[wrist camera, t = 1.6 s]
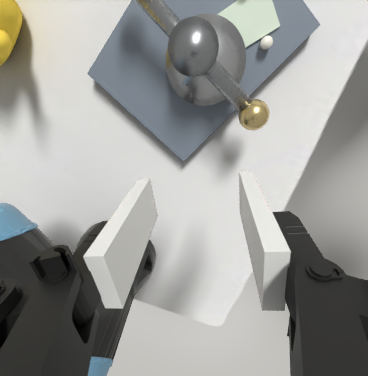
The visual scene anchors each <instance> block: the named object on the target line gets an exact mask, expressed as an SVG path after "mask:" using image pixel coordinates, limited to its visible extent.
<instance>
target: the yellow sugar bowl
mask: <svg viewBox="0 0 368 376" xmlns="http://www.w3.org/2000/svg"><path fill="white" fill-rule="evenodd" d="M21 25H22V12H21V10H20V8H19V6H18V4H17V3H16V1H15V0H0V66H1V65H2V64H3V63H4V62H5V61H6V60H7V59H8V57H9V56H10V54H11V52H12V50H13V48H14V45H15V43H16V41H17V38H18V35H19V32H20V29H21Z"/></svg>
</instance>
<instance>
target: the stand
mask: <svg viewBox="0 0 368 376" xmlns="http://www.w3.org/2000/svg"><path fill="white" fill-rule="evenodd" d="M163 1H164V2H165V3H166V4H167V5H168V6H169V7H170V9H171V10H172V11H173V12H174V13H175V14H176V15H177V16H178V18H179V19H180V20H183V19H185V18H188V17H193V16H196V15H199V14H205V13H211V14H217V15H220V16H222V17H224V18H226V19H228V20H229V21H230V22H232V23H233V24H234V25H235V26H236V28H237V29H238V31H239V32H240V34H241V36H242V38H243V41H244V44H245V48H246V67H245V71H244V74H243V77H242V79H241V81H240V83H239V85H240V87H241V88H242V89H243V90H244V91H245V92H246V93H247V94H248V95H249V96H250V95H251V94H252V93H253V92H254V91H255V90H256V89H257V88H258V87H259V86H260V85H261V84H262V83H263V82H264V81H265V80H266V79H267V78H268V77H269V76H270V75H271V74H272V73H273V72H274V71H275V70H276V69H277V68H278V67H279V66H280V65H281V64H282V63H283V62H284V61H285V60H286V59H287V58H288V57H289V56H290V55H291V54H292V53H293V52H294V51H295V50H296V49H297V48H298V47H299V46H300V45H301V44H302V43H303V42H304V41H305V40H306V39H307V38H308V37H309V36H310V35H311V34H312V33H313V32H314V31H315V30H316V29H317V28H318V27H319V26H320V24H319V22H318V21H317V19H316V18H315V17H314V15H313V14H312V12H311V11H310V10H309V8H308V7H307V6H306V4H305V3H304V1H303V0H163ZM168 41H169V37H168V36H167V35H166V34H165V33H164V32H163V31H162V30H161V29H160V27H159V26H158V25H157V24H156V23H155V22H154V21H153V20H152V19H151V18H150V17H149V16H148V15H147V14H146V12H145V11H144V10H143V9H142V8H141V7H140V6H139V5H138V4H137V3H136V2H135V1H134V0H132V1H131V2H130V4H129V6H128V7H127V9H126V11H125V12H124V14H123V16H122V17H121V19H120V21H119V22H118V24H117V26H116V27H115V29H114V31H113V32H112V34H111V35H110V37H109V39H108V40H107V42H106V44H105V45H104V47H103V49H102V50H101V52H100V54H99V55H98V57H97V59H96V60H95V62H94V64H93V65H92V67H91V69H90V70H89V72H88V75H89V76H90V77H91V78H92V79H94V80H95V81H96V82H97V83H98V84H99V85H100V86H101V87H102V88H103V89H105V90H106V91H107V92H108V93H109V94H110V95H111V96H112V97H113V98H114V99H115V100H117V101H118V102H119V103H120V104H121V105H122V106H123V107H124V108H125V109H126V110H128V111H129V112H130V113H131V114H132V115H133V116H134V117H135V118H136V119H137V120H138V121H140V122H141V123H142V124H143V125H144V126H145V127H146V128H147V129H148V130H149V131H151V132H152V133H153V134H154V135H155V136H156V137H157V138H158V139H159V140H160V141H161V142H163V143H164V144H165V145H166V146H167V147H168V148H169V149H170V150H171V151H172V152H174V153H175V154H176V155H177V156H178V157H179V158H180V159H181V160H182V161H183V162H184V161H185V160H186V159H187V158H188V157H189V156H190V155H191V154H192V153H193V152H194V151H195V150H196V149H197V148H198V147H199V146H200V145H201V144H202V143H203V142H204V141H205V140H206V139H207V138H208V137H209V136H210V135H211V134H212V133H213V132H214V131H215V130H216V129H217V128H218V127H219V126H220V125H221V124H222V123H223V122H224V121H225V120H226V119H227V118H228V117H229V116H230V115H231V114H232V113H233V112H234V111H235V110H236V109H235V108H234V107H233V106H232V104H231V103H230V102H229V101H228V100H227V99H225V100H223V101H221V102H219V103H217V104H213V105H208V106H199V105H195V104H191V103H189V102H187V101H186V100H184V99H183V98H181V97H180V96H179V95H178V94H177V93H176V92H175V90H174V89H173V87H172V85H171V83H170V81H169V79H168V75H167V71H166V53H167V48H168Z"/></svg>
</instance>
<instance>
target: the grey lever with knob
mask: <svg viewBox="0 0 368 376" xmlns="http://www.w3.org/2000/svg"><path fill="white" fill-rule="evenodd" d="M134 1H135V2H136V3H137V4H138V5H139V6H140V7H141V8H142V9H143V10H144V11H145V12H146V14H147V15H148V16H149V17H150V18H151V19H152V20H153V21H154V22H155V23H156V24H157V25H158V26H159V27H160V29H161V30H162V31H163V32H164V33H165V34H166V35H167V36H168V37H169V41H168V48H167V53H166V71H167V75H168V79H169V81H170V83H171V85H172V87H173V89H174V90H175V92H176V93H177V94H178V95H179V96H180V97H181V98H183V99H184V100H186V101H187V102H189V103H191V104H195V105H199V106H208V105H213V104H217V103H219V102H221V101H223V100H225V99H227V100H228V101H229V102H230V103H231V104H232V106H233V107H234V108H235V109H236V110H237V111H238V112H239V122H240V124H241V125H242V126H243V127H244V128H246V129H248V130H257V129H260V128H262V127H263V126H264V125H265V124H266V123H267V121H268V119H269V108H268V106H267V104H266V103H265V102H263V101H261V100H258V99H251V98H250V97H249V95H248V94H247V93H246V92H245V91H244V90H243V89H242V88H241V87H240V85H239V83H240V81H241V79H242V77H243V74H244V71H245V67H246V48H245V44H244V41H243V38H242V36H241V34H240V32H239V31H238V29H237V28H236V26H235V25H234V24H233V23H232V22H230V21H229V20H228V19H226V18H224V17H222V16H220V15H217V14H211V13H205V14H199V15H196V16H193V17H188V18H185V19H183V20H180V19H179V18H178V16H177V15H176V14H175V13H174V12H173V11H172V10H171V9H170V7H169V6H168V5H167V4H166V3H165V2H164V1H163V0H134Z"/></svg>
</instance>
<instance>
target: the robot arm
mask: <svg viewBox="0 0 368 376" xmlns="http://www.w3.org/2000/svg"><path fill="white" fill-rule="evenodd" d="M239 194H240V215H241V219H242V223H243V228H244V232H245V237H246V241H247V245H248V250H249V254H250V258H251V263H252V267H253V272H254V276H255V280H256V285H257V289H258V293H259V298H260V302H261V307H262V310H274V311H275V310H277V311H279V310H281V311H284V310H285V302H286V303H287V306H288V309H289V312H290V318H289V326H288V334H287V336H289V340H290V370H291V371H290V373H291V376H368V280H364V279H358V278H355V277H351V276H348V275H346V274H345V273H344V271H343V270H342V269H341V268H340V267H339V266H338V265H336V264H335V263H333V262H331V261H329V260H327V259H324V257H323V256H322V254H321V253H320V251H319V249H318V248H317V246H316V244H315V243H314V241H313V240H312V238H311V237H310V235H309V234H308V233H307V231H306V229H305V227H303V224H302V223H301V221H300V219H299V218H298V217H297V216H295V215H294V214H292V213H291V212H289V211H287V212H272V210H271V208H270V206H269V204H268V202H267V200H266V198H265V196H264V193H263V191H262V189H261V187H260V185H259V183H258V181H257V179H256V176H255V174H254V172H253V170H252V171H239ZM157 217H158V215H157V210H156V205H155V201H154V196H153V191H152V187H151V182H150V179H138V180H137V181H136V183H135V184H134V186H133V187H132V188H131V190H130V191H129V193H128V194H127V195H126V197H125V198H124V200H123V201H122V203H121V204H120V205H119V207H118V208H117V210H116V211H115V212H114V214H113V215H112V217H111V218H110V219H109V221H102V222H100V223H97V224H95V225H93V226H92V227H90V228H89V229H88V230H87V231H86V233H85V234H84V235H83V236H82V238H81V239H80V241H79V243H78V246H77V249H76V251H75V253H74V254H73V255H72V253H71V251H70V249H69V248H68V246H64V245H58V246H55V245H54V244H53V243H52V242H51V241H50V240H49V239H48V238H47V237H46V236H45V235H44V234H43V233H42V232H41V231H40V230H39V229H38V228H37V227H38V225H37V224H36V223H32V222H31V221H30V220H29V219H28V218H27V217H26V216H25V215H24V214H22V213H21V212H20V211H19V210H18V209H17V208H16V207H14V206H12V205H10V204H7V203H0V376H106V375H107V373H108V370H109V368H110V367H111V366H112V363H113V359H114V356H115V353H116V350H117V346H118V343H119V340H120V337H121V334H122V331H123V328H124V325H125V322H126V319H127V316H128V313H129V310H130V307H131V304H132V301H133V298H134V296H135V294H136V293H137V292H138V290H139V289H140V288H141V287H142V285H143V284H144V283H145V282H146V280H147V279H148V278H149V276H150V275H151V273H152V271H153V267H154V264H155V260H156V253H155V249H154V247H153V244H152V243H151V241H150V240H149V238H150V236H151V233H152V230H153V228H154V225H155V222H156V220H157Z"/></svg>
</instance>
